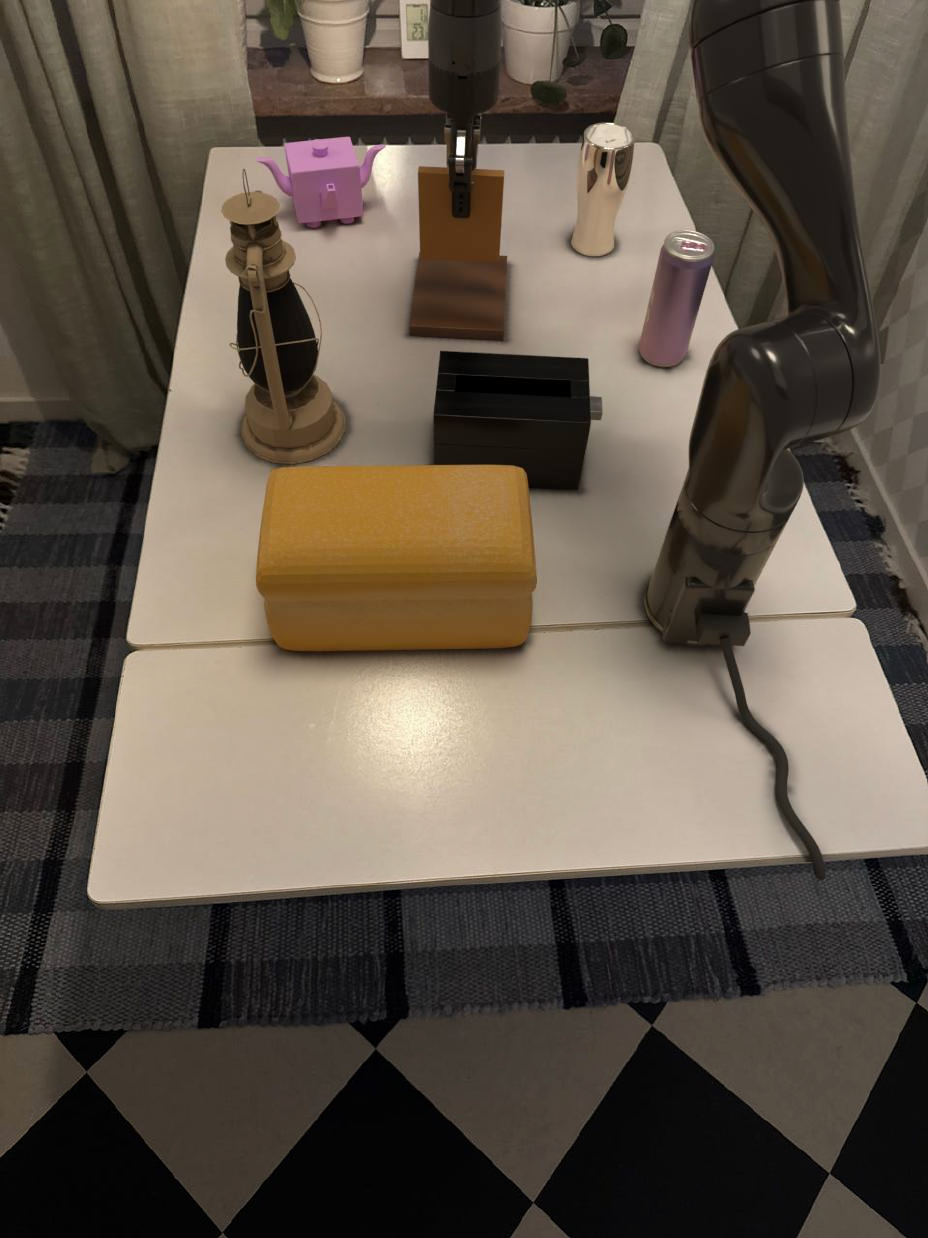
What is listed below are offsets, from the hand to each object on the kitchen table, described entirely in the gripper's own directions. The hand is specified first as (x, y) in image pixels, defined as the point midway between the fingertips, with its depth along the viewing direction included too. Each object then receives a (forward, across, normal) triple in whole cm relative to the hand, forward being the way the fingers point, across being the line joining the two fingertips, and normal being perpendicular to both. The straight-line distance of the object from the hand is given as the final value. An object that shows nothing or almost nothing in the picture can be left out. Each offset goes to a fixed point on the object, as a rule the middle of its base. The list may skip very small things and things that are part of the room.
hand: (461, 211), depth 103 cm
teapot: (+12, -18, -20) cm, 30 cm away
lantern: (+12, +25, -18) cm, 33 cm away
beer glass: (+12, -14, +18) cm, 26 cm away
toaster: (+12, +28, +7) cm, 31 cm away
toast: (+6, 0, 0) cm, 6 cm away
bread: (+12, +49, -3) cm, 51 cm away
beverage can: (+12, +9, +26) cm, 30 cm away
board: (+12, 0, 0) cm, 12 cm away
